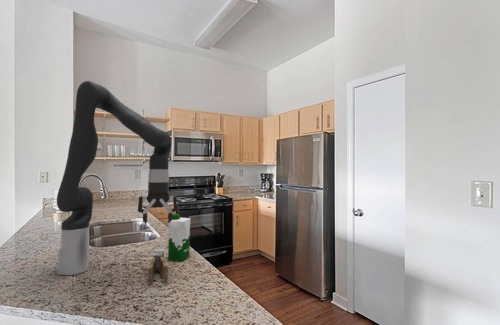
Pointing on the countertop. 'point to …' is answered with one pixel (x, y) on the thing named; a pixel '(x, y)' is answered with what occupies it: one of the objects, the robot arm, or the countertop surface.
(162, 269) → the tong arm
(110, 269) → the countertop surface
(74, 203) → the robot arm
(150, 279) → the tong frame
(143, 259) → the countertop surface
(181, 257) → the milk carton
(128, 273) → the countertop surface
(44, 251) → the countertop surface
